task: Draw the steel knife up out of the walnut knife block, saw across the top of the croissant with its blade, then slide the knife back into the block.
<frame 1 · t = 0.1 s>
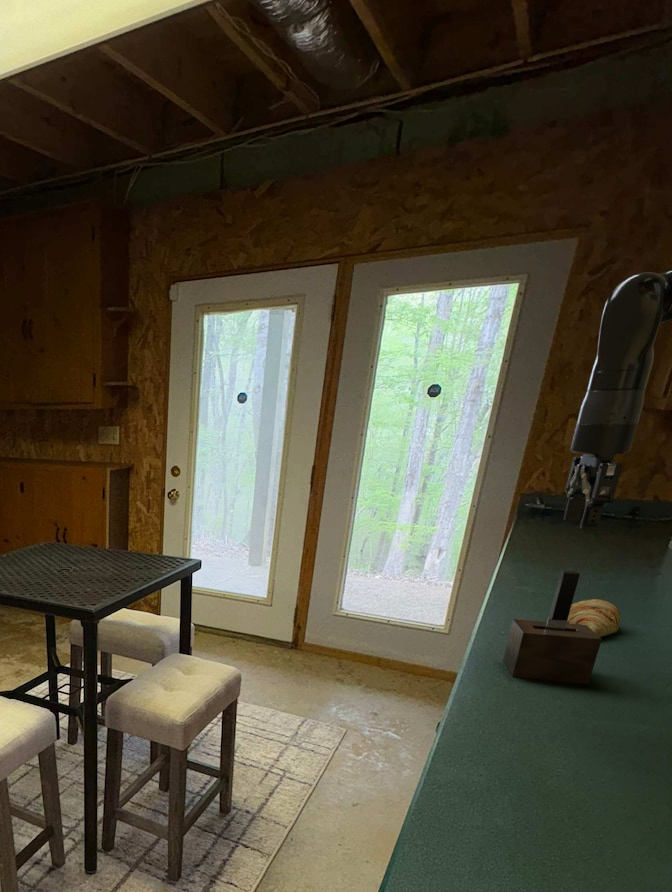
hand: (579, 524, 104), 30 cm above the kitchen counter, tool pointing down, fingers open, 8 cm apart
croissant: (587, 629, 143), on the kitchen counter
knife block: (543, 672, 122), on the kitchen counter
knife: (556, 623, 118), in the knife block
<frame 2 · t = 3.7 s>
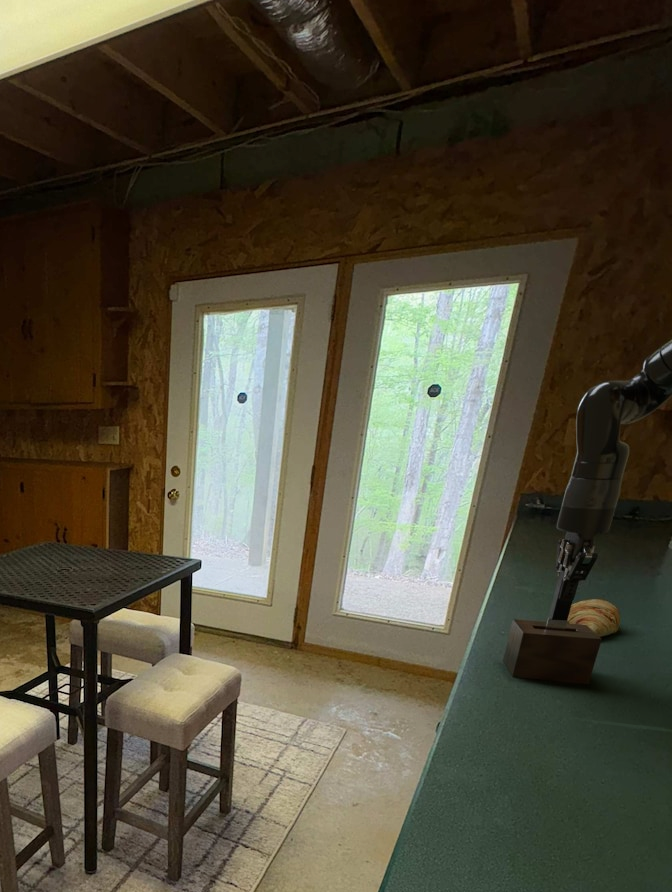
hand: (563, 597, 116), 15 cm above the kitchen counter, tool pointing down, fingers closed on knife, 2 cm apart
knife: (556, 623, 118), in the knife block, touching gripper
everything else where it was.
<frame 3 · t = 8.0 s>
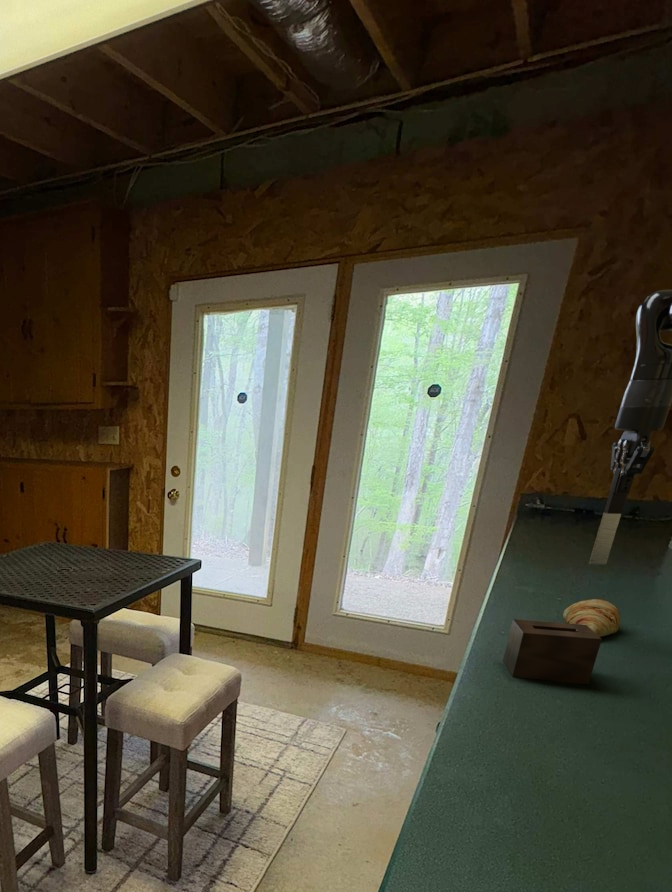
hand: (618, 493, 130), 31 cm above the kitchen counter, tool pointing down, fingers closed on knife, 2 cm apart
knife: (611, 517, 132), point 26 cm above the kitchen counter, touching gripper
everything else where it was.
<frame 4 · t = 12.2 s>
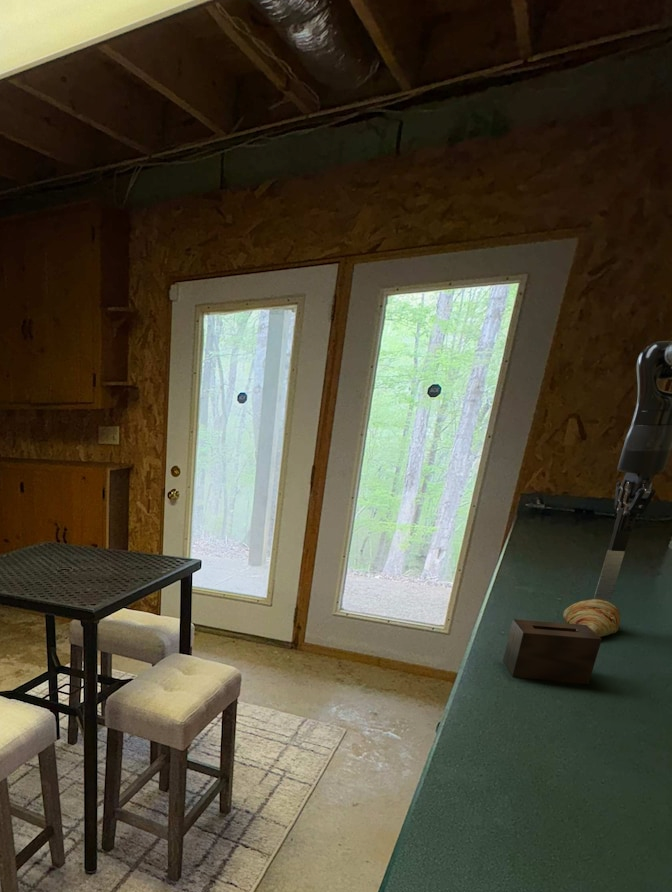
hand: (622, 531, 135), 22 cm above the kitchen counter, tool pointing down, fingers closed on knife, 2 cm apart
knife: (615, 554, 137), point 17 cm above the kitchen counter, touching gripper
everything else where it was.
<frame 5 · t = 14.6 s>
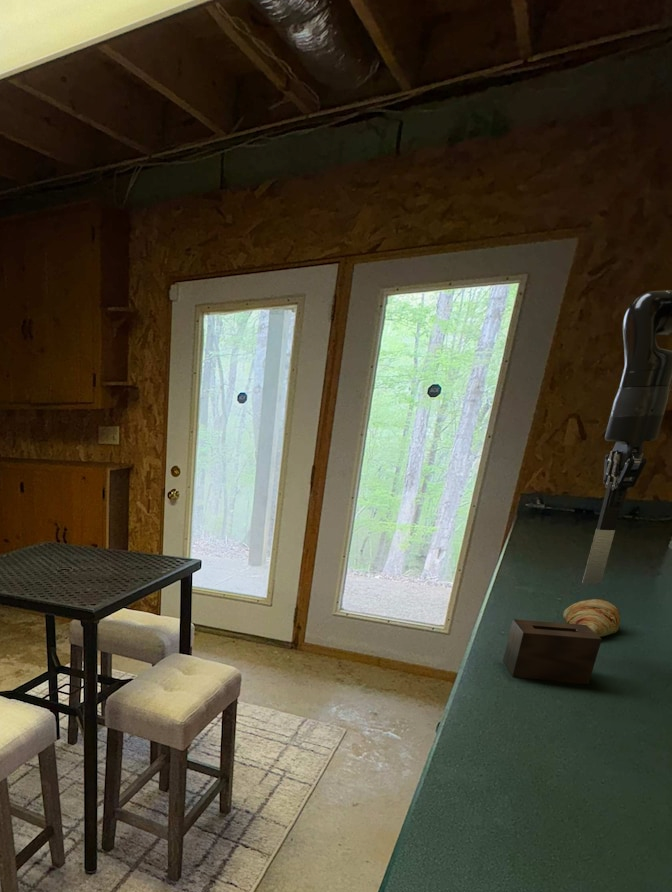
hand: (611, 508, 121), 29 cm above the kitchen counter, tool pointing down, fingers closed on knife, 2 cm apart
knife: (604, 534, 123), point 24 cm above the kitchen counter, touching gripper
everything else where it was.
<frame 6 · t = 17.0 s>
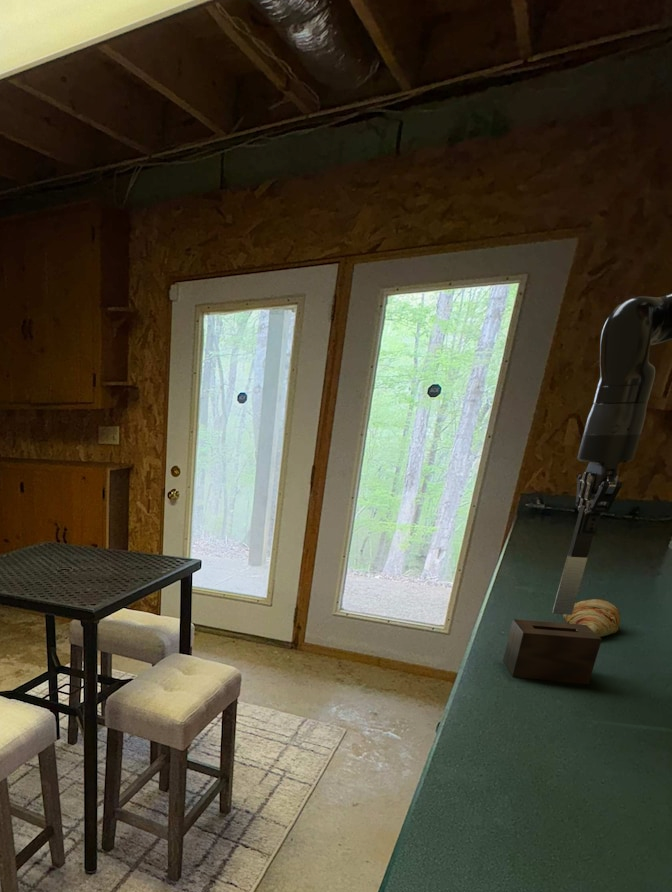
hand: (584, 534, 111), 27 cm above the kitchen counter, tool pointing down, fingers closed on knife, 2 cm apart
knife: (576, 561, 113), point 22 cm above the kitchen counter, touching gripper
everything else where it was.
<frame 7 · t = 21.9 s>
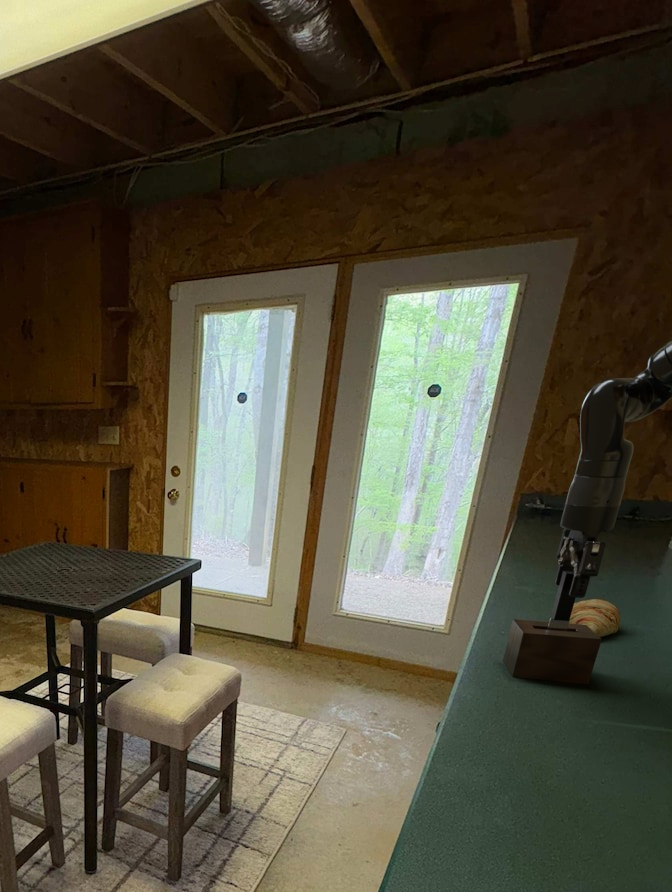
hand: (568, 590, 115), 16 cm above the kitchen counter, tool pointing down, fingers open, 8 cm apart
knife: (558, 624, 118), in the knife block
everything else where it was.
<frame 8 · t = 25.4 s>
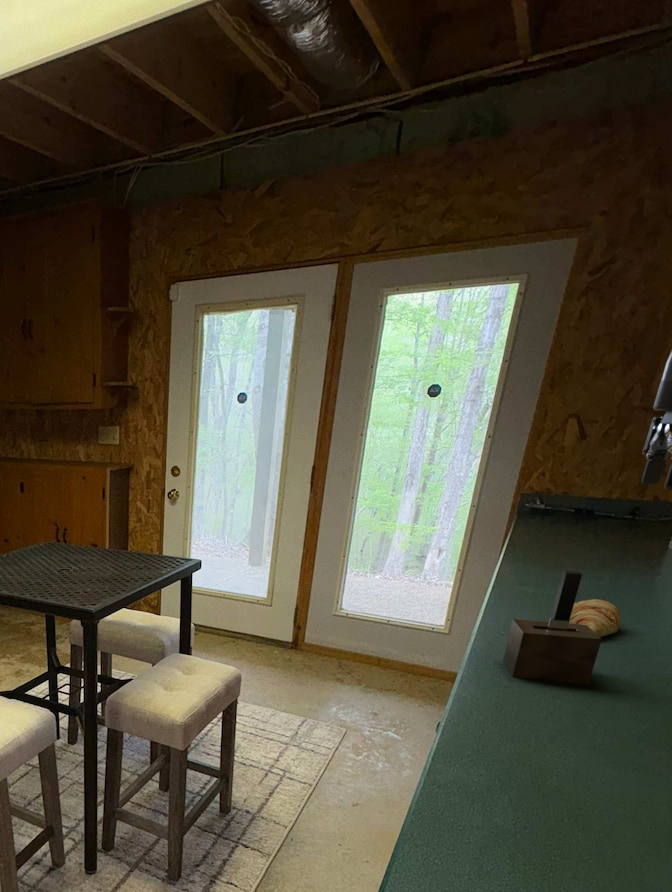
hand: (660, 486, 101), 36 cm above the kitchen counter, tool pointing down, fingers open, 8 cm apart
nothing on the kitchen counter moved.
at the end: knife 0.3 cm off-centre on the knife block, point 10.0 cm above the knife block's base; knife tilted 0°; croissant moved 0.2 cm from its start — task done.
